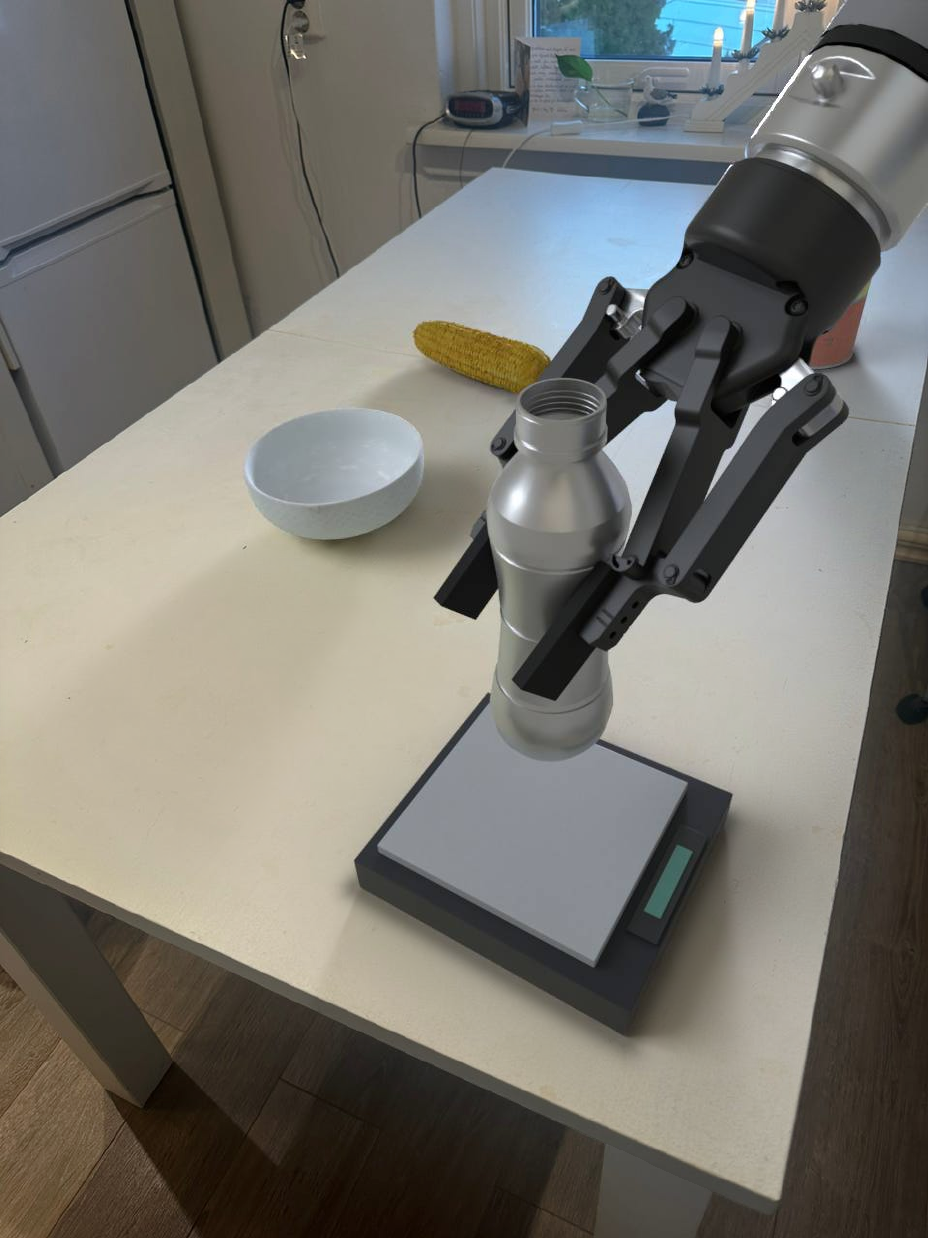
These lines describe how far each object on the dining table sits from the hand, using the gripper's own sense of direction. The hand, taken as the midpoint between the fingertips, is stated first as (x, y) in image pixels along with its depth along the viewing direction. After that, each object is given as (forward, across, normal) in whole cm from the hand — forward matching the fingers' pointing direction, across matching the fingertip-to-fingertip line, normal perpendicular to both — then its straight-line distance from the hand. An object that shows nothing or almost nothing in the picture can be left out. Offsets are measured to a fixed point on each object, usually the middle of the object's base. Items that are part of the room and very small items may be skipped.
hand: (492, 647), depth 41 cm
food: (-11, -58, +40) cm, 71 cm away
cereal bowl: (+8, -42, +21) cm, 48 cm away
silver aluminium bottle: (+3, 0, +9) cm, 9 cm away
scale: (+12, 0, +17) cm, 21 cm away
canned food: (-36, -40, +65) cm, 85 cm away
